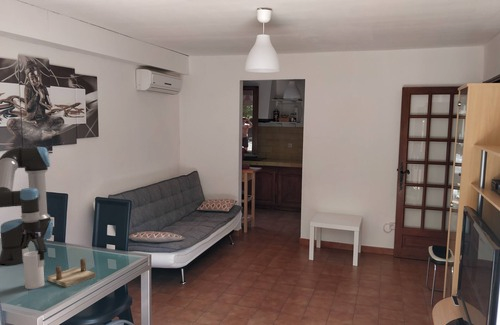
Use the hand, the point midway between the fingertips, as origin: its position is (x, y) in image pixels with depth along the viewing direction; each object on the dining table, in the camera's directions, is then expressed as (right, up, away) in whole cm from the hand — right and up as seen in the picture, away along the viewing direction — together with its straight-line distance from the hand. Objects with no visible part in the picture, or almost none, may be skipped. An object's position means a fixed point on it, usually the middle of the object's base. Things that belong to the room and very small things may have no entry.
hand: (33, 264), depth 197 cm
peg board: (+14, -10, +10) cm, 20 cm away
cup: (0, -11, +1) cm, 11 cm away
